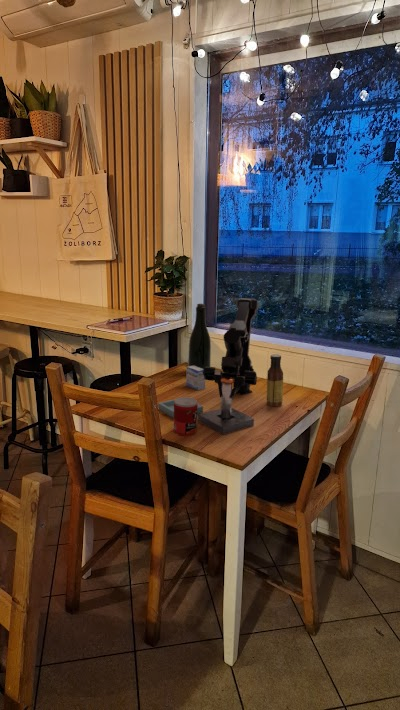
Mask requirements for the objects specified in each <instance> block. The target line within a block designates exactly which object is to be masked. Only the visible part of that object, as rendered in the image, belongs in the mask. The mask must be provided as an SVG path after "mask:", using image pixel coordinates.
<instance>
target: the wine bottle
mask: <svg viewBox="0 0 400 710" xmlns="http://www.w3.org/2000/svg"><path fill="white" fill-rule="evenodd" d="M196 304H197V305H196V307H195V321H194V322H195V323H194V327H193V330H192V331H191V334H190V336H189V342H188V360H187V363H188V365H187V367H189V366H196V367H199V368H202V369H204V368H205V367H211V365H212V364H211V361H212V360H211V358H212V357H211V355H212V352H211V351H212V350H211V347H212V345H211V337H210V334H209V330H208V328H207V323H206V321H207V320H206V306H205V303H196Z"/></svg>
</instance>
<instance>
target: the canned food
mask: <svg viewBox="0 0 400 710" xmlns="http://www.w3.org/2000/svg"><path fill="white" fill-rule="evenodd" d="M173 400H174V399H173ZM197 404H199V403H198V400H197V399H196V398H193V397H189V396H181V397H177V398H175V400H174V418H173V431H174V433H175V434H176V435H177V436H181V437H189V436H193V435H196V433H197V431H198V430H197V429H198V414H197V407H198V406H197Z"/></svg>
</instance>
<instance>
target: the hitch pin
mask: <svg viewBox="0 0 400 710" xmlns="http://www.w3.org/2000/svg"><path fill="white" fill-rule="evenodd" d="M221 382H222V396H221V397H220V398H221V402H220V403H221V404H220V405H221V406H220V408H221V417H222V418H231V408H232V407H233V406H232V402H233V398H232V399H231V393H232V389H233V383H234V378H233V377H221Z"/></svg>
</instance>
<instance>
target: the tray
mask: <svg viewBox="0 0 400 710" xmlns="http://www.w3.org/2000/svg"><path fill="white" fill-rule="evenodd" d="M175 399H176V398H175ZM175 399H169V400H166V401H165V400H164V401H161V402H158V403H157V409H158V408H159V410H158V411H160V412H162V413H164V414H165V415H167V416H168V417H171V418H172V419H174V400H175ZM197 406H198V407H197V415H198V414H201V413H204V406H203V405H201V404H200V403H198V404H197Z"/></svg>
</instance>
